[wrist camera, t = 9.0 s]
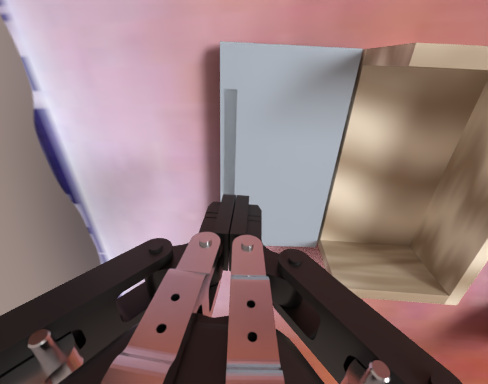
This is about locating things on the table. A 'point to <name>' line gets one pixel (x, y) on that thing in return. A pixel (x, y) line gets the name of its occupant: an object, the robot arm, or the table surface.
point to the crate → (411, 176)
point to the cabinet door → (283, 131)
